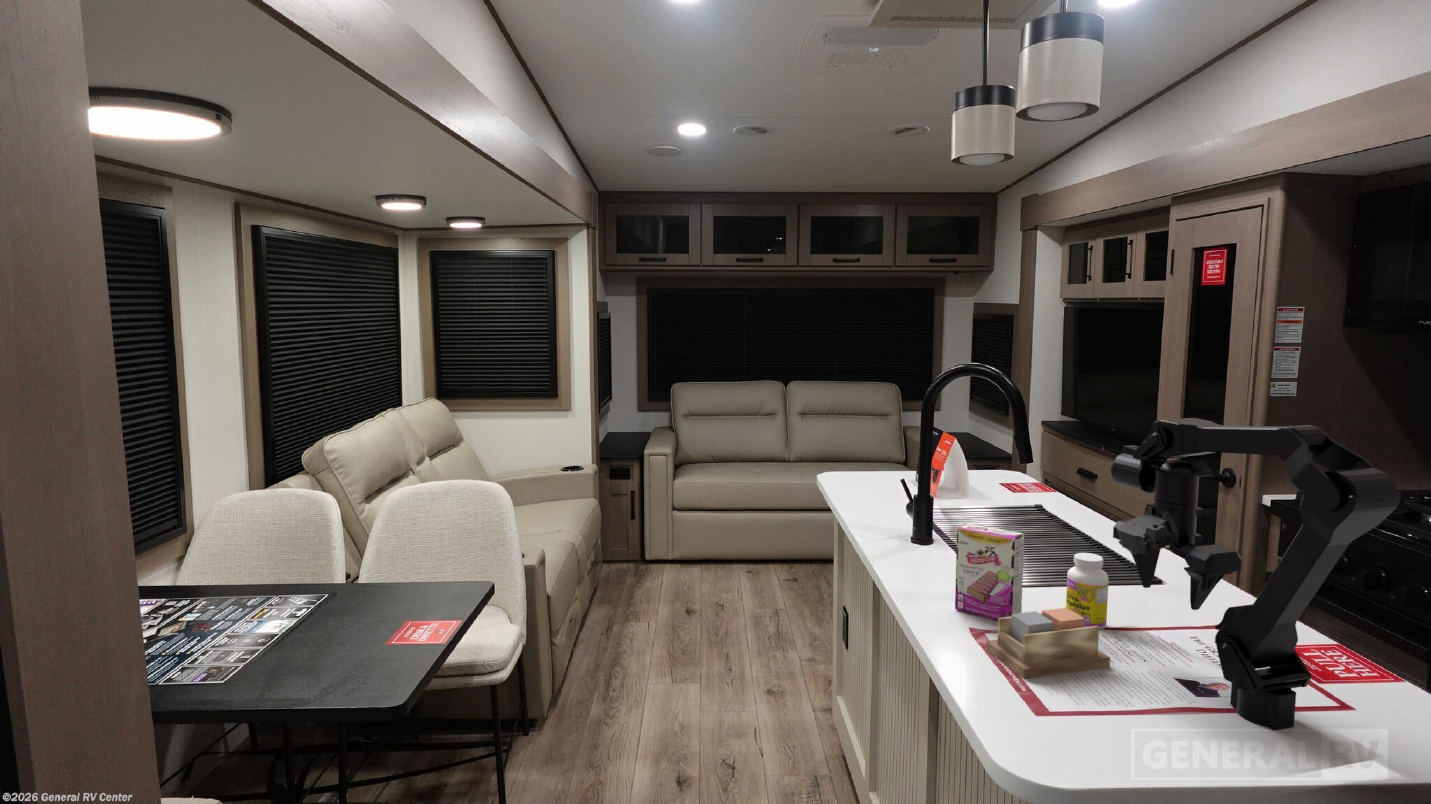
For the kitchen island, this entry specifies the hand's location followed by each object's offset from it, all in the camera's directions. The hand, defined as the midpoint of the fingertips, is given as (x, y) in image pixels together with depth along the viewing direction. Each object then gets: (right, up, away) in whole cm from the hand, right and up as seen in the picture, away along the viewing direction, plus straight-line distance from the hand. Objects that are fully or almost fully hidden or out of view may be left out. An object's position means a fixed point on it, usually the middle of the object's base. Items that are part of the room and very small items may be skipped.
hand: (1169, 598), depth 114 cm
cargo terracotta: (-15, -7, +4) cm, 17 cm away
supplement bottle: (-4, -10, +19) cm, 22 cm away
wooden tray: (-18, -9, +3) cm, 20 cm away
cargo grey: (-20, -8, +2) cm, 22 cm away
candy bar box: (-19, -10, +25) cm, 33 cm away
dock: (-18, -12, +4) cm, 22 cm away
